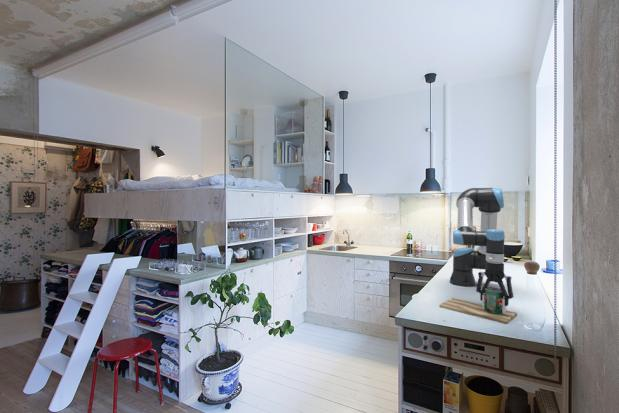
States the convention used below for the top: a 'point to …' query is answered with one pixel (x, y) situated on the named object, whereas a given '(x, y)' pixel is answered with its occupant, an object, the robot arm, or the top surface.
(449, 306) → the board
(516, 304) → the top surface
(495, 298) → the canned tomato
